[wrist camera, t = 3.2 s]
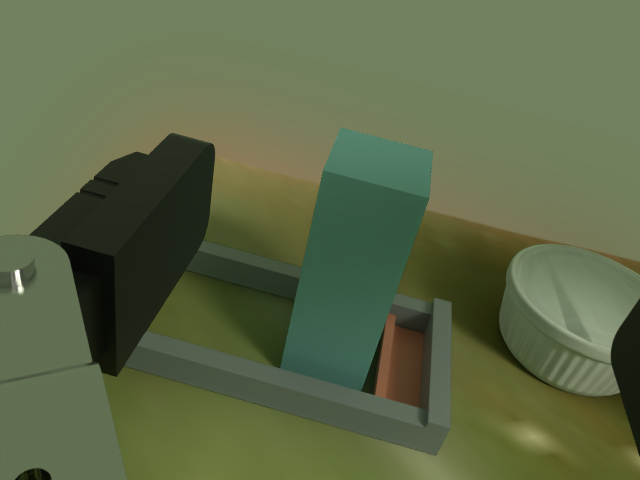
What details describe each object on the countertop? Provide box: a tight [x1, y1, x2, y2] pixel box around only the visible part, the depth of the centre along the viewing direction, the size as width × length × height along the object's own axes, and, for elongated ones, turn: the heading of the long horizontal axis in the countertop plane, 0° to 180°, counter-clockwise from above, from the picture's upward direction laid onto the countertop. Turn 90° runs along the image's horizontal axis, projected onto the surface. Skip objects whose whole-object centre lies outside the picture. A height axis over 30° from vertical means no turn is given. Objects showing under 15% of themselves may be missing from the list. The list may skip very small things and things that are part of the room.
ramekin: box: [499, 244, 640, 397], centre depth 40 cm, size 11×11×5 cm
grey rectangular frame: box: [124, 240, 452, 455], centre depth 36 cm, size 19×10×2 cm, turn 79°
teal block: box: [280, 128, 433, 391], centre depth 32 cm, size 5×5×14 cm
